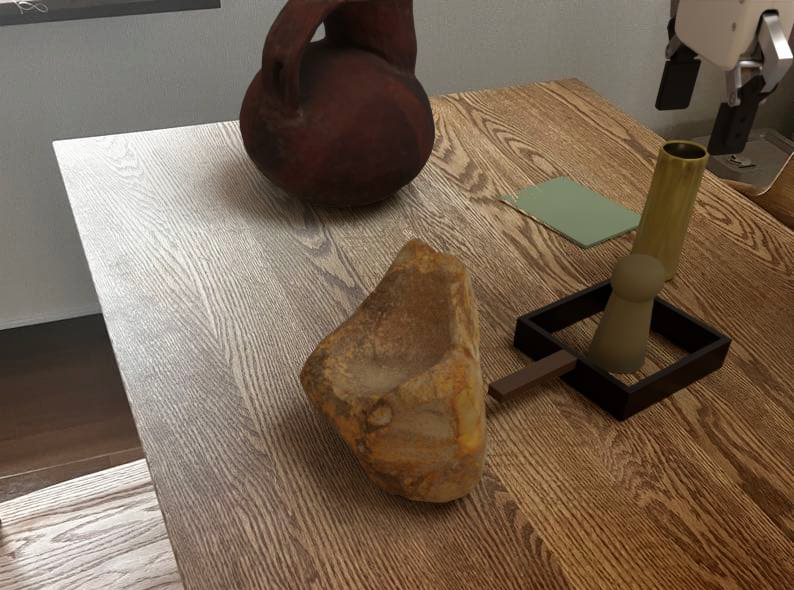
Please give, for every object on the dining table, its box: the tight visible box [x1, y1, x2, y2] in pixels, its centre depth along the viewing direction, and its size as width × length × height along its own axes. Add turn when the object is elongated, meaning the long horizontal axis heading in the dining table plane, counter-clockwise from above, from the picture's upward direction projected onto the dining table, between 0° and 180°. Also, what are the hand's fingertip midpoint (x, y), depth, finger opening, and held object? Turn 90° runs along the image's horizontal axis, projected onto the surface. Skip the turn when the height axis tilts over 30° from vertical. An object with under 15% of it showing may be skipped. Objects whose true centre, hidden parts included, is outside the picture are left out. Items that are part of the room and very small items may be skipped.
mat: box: [501, 175, 642, 250], centre depth 109 cm, size 12×16×1 cm
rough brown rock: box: [299, 237, 488, 503], centre depth 73 cm, size 23×17×15 cm
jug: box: [238, 0, 436, 208], centre depth 103 cm, size 25×25×25 cm
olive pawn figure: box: [587, 254, 666, 375], centre depth 83 cm, size 6×6×11 cm
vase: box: [629, 139, 710, 282], centre depth 94 cm, size 6×6×14 cm
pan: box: [486, 276, 733, 423], centre depth 84 cm, size 26×16×4 cm, turn 127°
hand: (696, 130), depth 72 cm, fingers open, 9 cm apart
